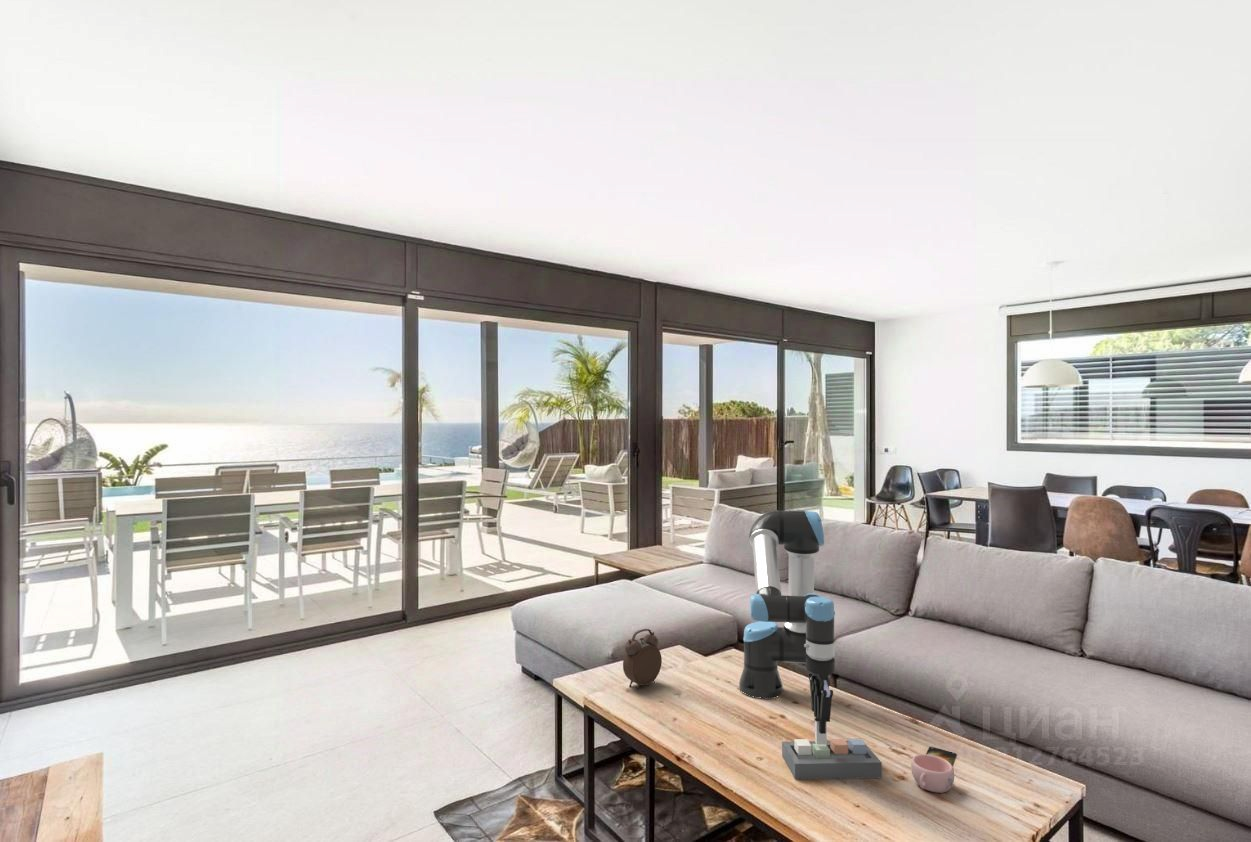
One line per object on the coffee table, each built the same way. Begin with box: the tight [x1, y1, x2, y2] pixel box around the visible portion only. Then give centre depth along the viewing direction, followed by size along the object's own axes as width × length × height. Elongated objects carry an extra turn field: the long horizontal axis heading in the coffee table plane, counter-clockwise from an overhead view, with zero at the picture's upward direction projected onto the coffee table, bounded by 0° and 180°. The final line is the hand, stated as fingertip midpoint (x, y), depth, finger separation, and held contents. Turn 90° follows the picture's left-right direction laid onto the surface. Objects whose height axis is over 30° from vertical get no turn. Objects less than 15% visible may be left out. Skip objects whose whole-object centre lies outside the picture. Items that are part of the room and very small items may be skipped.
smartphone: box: [925, 746, 957, 767], centre depth 173 cm, size 7×1×15 cm
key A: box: [847, 737, 868, 754], centre depth 171 cm, size 4×4×2 cm
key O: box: [793, 738, 812, 755], centre depth 170 cm, size 4×4×2 cm
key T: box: [829, 738, 848, 754], centre depth 171 cm, size 4×4×2 cm
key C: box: [812, 744, 830, 759], centre depth 170 cm, size 4×4×2 cm
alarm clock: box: [622, 628, 662, 690], centre depth 227 cm, size 15×7×20 cm, turn 130°
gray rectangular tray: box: [781, 740, 883, 780], centre depth 170 cm, size 12×23×4 cm, turn 92°
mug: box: [910, 753, 955, 793], centre depth 160 cm, size 12×10×6 cm
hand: (820, 743), depth 171 cm, fingers closed
